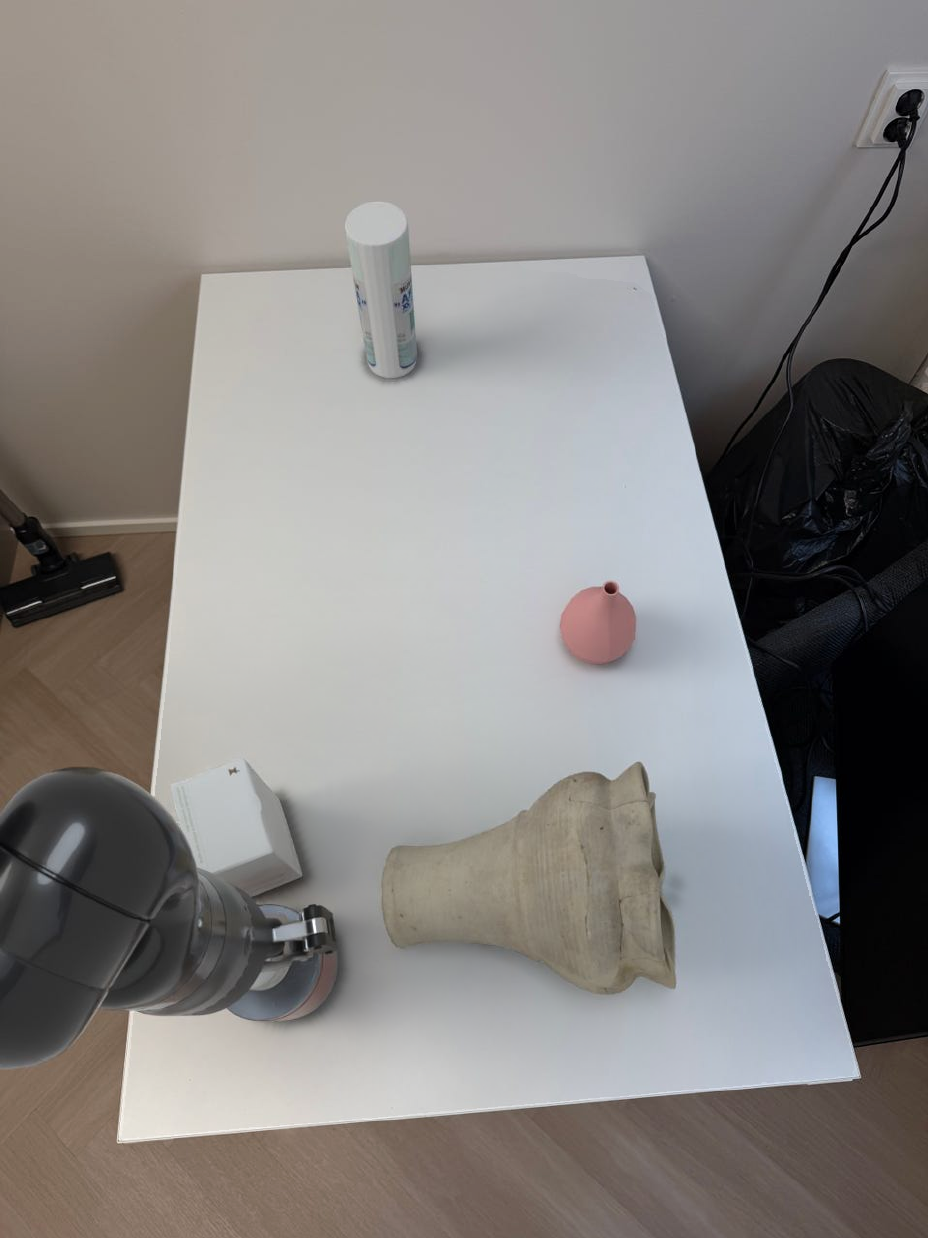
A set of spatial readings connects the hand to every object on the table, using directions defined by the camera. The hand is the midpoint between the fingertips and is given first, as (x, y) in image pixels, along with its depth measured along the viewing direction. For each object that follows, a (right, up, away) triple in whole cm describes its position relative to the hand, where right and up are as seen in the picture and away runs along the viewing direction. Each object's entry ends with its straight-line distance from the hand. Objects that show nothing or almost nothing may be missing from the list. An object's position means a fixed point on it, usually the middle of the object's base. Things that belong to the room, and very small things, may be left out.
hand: (252, 958), depth 61 cm
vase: (+20, 0, +17) cm, 26 cm away
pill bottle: (0, -2, +4) cm, 4 cm away
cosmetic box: (-4, +3, +18) cm, 19 cm away
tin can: (0, -6, +14) cm, 15 cm away
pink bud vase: (+29, +22, +27) cm, 46 cm away
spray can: (+7, +57, +43) cm, 72 cm away
